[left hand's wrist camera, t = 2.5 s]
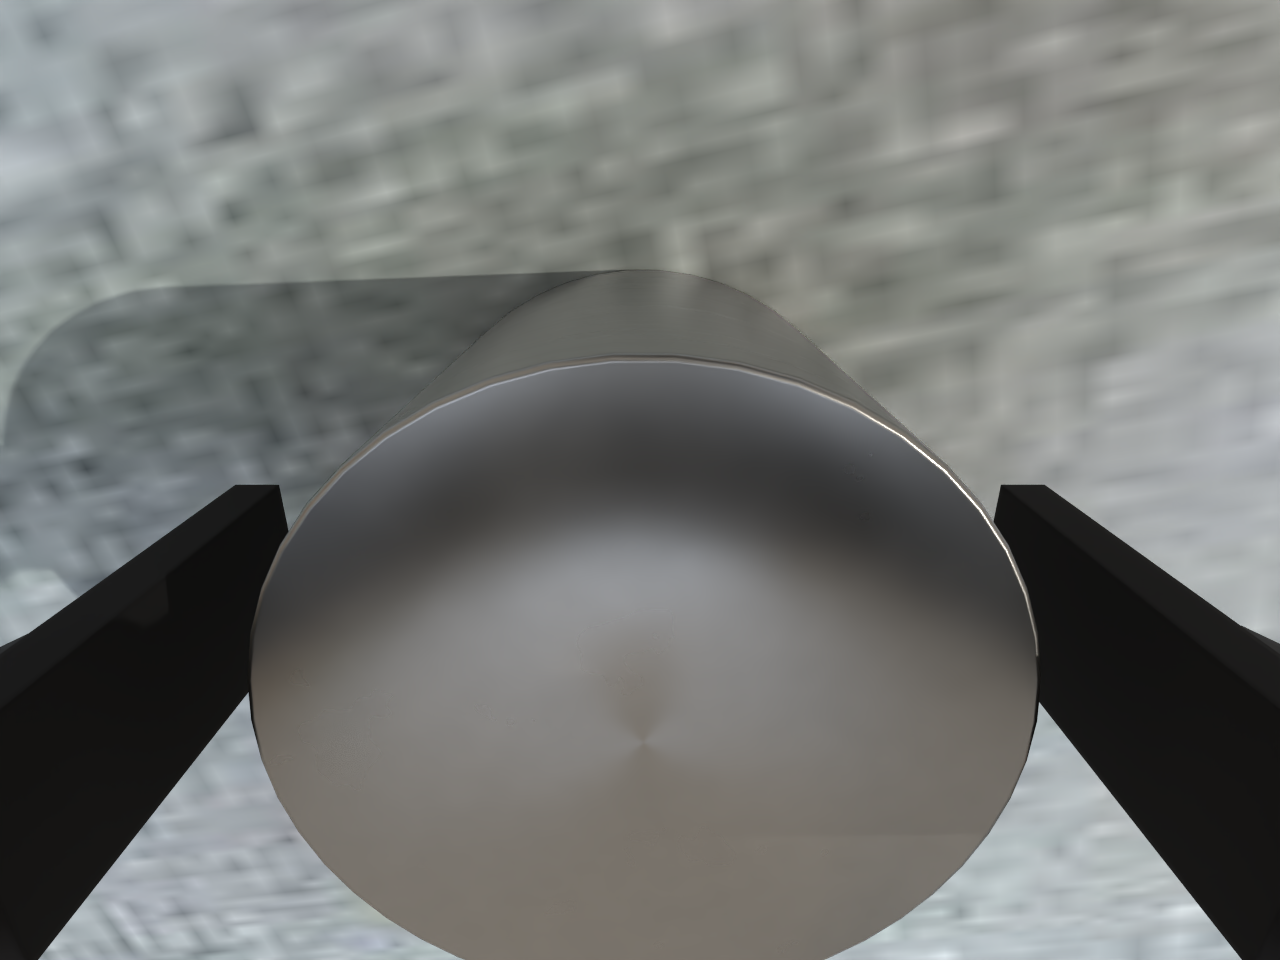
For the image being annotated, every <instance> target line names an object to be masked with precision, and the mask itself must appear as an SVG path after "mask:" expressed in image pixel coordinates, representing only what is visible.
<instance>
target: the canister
mask: <svg viewBox="0 0 1280 960" xmlns="http://www.w3.org/2000/svg"><path fill="white" fill-rule="evenodd" d="M247 679H248V690H249V701H250V711H251V721H252V724H253V728H254V732H255V736H256V740H257V744H258V748H259V752H260V755H261V759H262V762H263V764H264V767H265V769H266V771H267V774H268V776H269V778H270V781H271V783H272V785H273V788H274V790H275V792H276V795H277V797H278V799H279V800H280V802H281V804H282V805H283V807H284V809H285V810H286V812H287V814H288V815H289V817H290V819H291V820H292V822H293V823H294V825H295V827H296V828H297V830H298V832H299V833H300V834H301V836H302V837H303V838H304V839H305V841H306V842H307V843H308V844H309V846H310V847H311V848H312V849H313V851H314V852H315V853H316V854H317V856H318V857H319V858H320V859H321V860H322V862H323V863H324V864H325V865H326V866H327V867H328V868H329V869H330V870H331V871H332V872H333V873H334V874H335V875H336V876H337V877H338V878H339V879H340V880H341V881H342V882H343V883H344V884H345V885H346V886H347V887H348V888H349V889H351V890H352V891H353V892H354V893H355V894H356V895H357V896H359V897H360V898H361V899H363V900H364V901H365V902H367V903H368V904H369V905H370V906H372V907H373V908H374V909H376V910H377V911H378V912H379V913H381V914H382V915H383V916H385V917H386V918H387V919H389V920H391V921H392V922H394V923H396V924H397V925H399V926H400V927H402V928H404V929H405V930H407V931H409V932H410V933H412V934H414V935H415V936H417V937H418V938H420V939H422V940H424V941H426V942H428V943H430V944H432V945H434V946H436V947H438V948H440V949H442V950H444V951H446V952H449V953H451V954H453V955H455V956H457V957H459V958H462V959H464V960H825V959H827V958H830V957H832V956H834V955H836V954H838V953H840V952H842V951H844V950H846V949H848V948H851V947H853V946H855V945H857V944H859V943H861V942H863V941H865V940H867V939H868V938H870V937H872V936H873V935H875V934H877V933H878V932H880V931H882V930H883V929H885V928H887V927H888V926H890V925H892V924H893V923H895V922H896V921H898V920H900V919H901V918H903V917H904V916H905V915H906V914H908V913H909V912H910V911H912V910H913V909H914V908H916V907H917V906H918V905H920V904H921V903H922V902H923V901H925V900H926V899H927V898H929V897H930V896H931V895H933V894H934V893H935V892H936V891H937V890H938V889H939V888H940V887H941V886H942V885H943V884H944V883H945V882H946V881H947V880H948V879H949V878H950V877H952V876H953V875H954V874H955V873H956V872H957V871H958V870H959V869H960V868H961V867H962V866H963V865H964V864H965V862H966V861H967V860H968V859H969V857H970V856H971V855H972V854H973V853H974V851H975V850H976V849H977V848H978V846H979V845H980V844H981V843H982V841H983V840H984V839H985V838H986V836H987V835H988V834H989V833H990V831H991V829H992V828H993V826H994V824H995V823H996V821H997V819H998V818H999V816H1000V815H1001V813H1002V811H1003V810H1004V808H1005V806H1006V805H1007V803H1008V802H1009V800H1010V798H1011V796H1012V793H1013V791H1014V789H1015V786H1016V784H1017V782H1018V780H1019V777H1020V775H1021V773H1022V770H1023V768H1024V766H1025V763H1026V761H1027V757H1028V753H1029V750H1030V746H1031V742H1032V738H1033V734H1034V731H1035V727H1036V723H1037V716H1038V706H1039V695H1040V685H1041V670H1040V656H1039V641H1038V631H1037V627H1036V623H1035V619H1034V615H1033V611H1032V607H1031V603H1030V599H1029V594H1028V590H1027V587H1026V585H1025V582H1024V580H1023V578H1022V576H1021V573H1020V571H1019V569H1018V566H1017V564H1016V562H1015V559H1014V557H1013V555H1012V552H1011V550H1010V548H1009V545H1008V544H1007V542H1006V541H1005V539H1004V538H1003V536H1002V534H1001V533H1000V531H999V530H998V528H997V527H996V525H995V524H994V522H993V520H992V519H991V517H990V516H989V514H988V513H987V511H986V510H985V508H984V506H983V505H982V503H981V502H980V501H979V500H978V499H977V498H976V497H975V496H974V495H973V493H972V492H971V491H970V490H969V489H968V488H967V487H966V486H965V485H964V483H963V482H962V481H961V480H960V479H959V478H958V477H957V476H956V474H955V473H954V472H953V471H952V470H951V469H950V468H949V467H948V466H947V465H946V464H945V463H944V462H943V461H942V460H941V459H940V458H939V457H938V456H937V455H935V454H934V453H933V452H932V451H931V450H930V449H929V448H928V447H927V446H925V445H924V444H923V443H922V442H921V441H920V440H919V439H918V438H917V437H916V436H914V435H913V434H912V433H911V432H910V431H909V430H908V429H907V428H906V427H904V426H903V425H902V424H901V423H900V422H899V421H898V420H897V419H896V418H895V417H893V416H892V415H891V414H890V413H889V412H888V411H887V410H886V409H885V408H884V407H882V406H881V405H880V404H879V403H878V402H877V401H876V400H875V399H874V398H872V397H871V396H870V395H869V394H868V393H867V392H866V391H865V390H864V389H863V388H861V387H860V386H859V385H858V384H857V383H856V382H855V381H854V380H853V379H851V378H850V377H849V376H848V375H847V374H846V373H845V372H844V371H843V370H842V369H840V368H839V367H838V366H837V365H836V364H835V363H834V362H833V361H832V360H830V359H829V358H828V357H827V356H826V355H825V354H824V353H823V352H822V351H821V350H819V349H818V348H817V347H816V346H815V345H814V344H813V343H812V342H811V341H810V340H808V339H807V338H806V337H805V336H804V335H803V334H802V333H801V332H800V331H798V330H797V329H796V328H795V327H794V326H792V325H791V324H790V323H789V322H788V321H786V320H785V319H784V318H783V317H781V316H780V315H779V314H778V313H777V312H775V311H774V310H772V309H771V308H769V307H767V306H766V305H764V304H762V303H761V302H759V301H758V300H756V299H754V298H753V297H751V296H749V295H747V294H745V293H743V292H740V291H738V290H736V289H733V288H731V287H729V286H726V285H724V284H722V283H719V282H715V281H712V280H708V279H705V278H701V277H697V276H694V275H690V274H683V273H676V272H668V271H661V270H625V271H618V272H611V273H604V274H596V275H592V276H589V277H585V278H582V279H578V280H575V281H571V282H567V283H565V284H562V285H560V286H558V287H555V288H553V289H551V290H548V291H546V292H544V293H542V294H539V295H537V296H535V297H534V298H532V299H530V300H529V301H527V302H526V303H524V304H522V305H521V306H519V307H517V308H516V309H514V310H512V311H511V312H510V313H509V314H507V315H506V316H505V317H504V318H502V319H501V320H500V321H499V322H498V323H496V324H495V325H494V326H493V327H492V328H490V329H489V330H488V331H487V332H486V333H485V334H484V335H482V336H481V337H480V338H479V339H478V340H477V341H476V342H475V343H474V344H473V345H472V346H470V347H469V348H468V349H467V350H466V351H465V352H464V353H463V354H462V355H461V356H460V357H458V358H457V359H456V360H455V361H454V362H453V363H452V364H451V365H450V366H449V367H448V368H447V369H445V370H444V371H443V372H442V373H441V374H440V375H439V376H438V377H437V378H436V379H435V380H433V381H432V382H431V383H430V384H429V385H428V386H427V387H426V388H425V389H424V390H423V391H421V392H420V393H419V394H418V395H417V396H416V397H415V398H414V399H413V400H412V401H411V402H409V403H408V404H407V405H406V406H405V407H404V408H403V409H402V410H401V411H400V412H399V413H397V414H396V415H395V416H394V417H393V418H392V419H391V420H390V421H389V422H388V423H387V424H385V425H384V426H383V427H382V428H381V429H380V430H379V431H378V432H377V433H376V434H375V435H373V436H372V437H371V438H370V439H369V440H368V441H367V442H366V443H365V444H364V445H363V446H361V447H360V448H359V449H358V450H357V451H356V452H355V453H354V454H353V455H352V456H351V457H349V458H348V459H347V460H346V461H345V462H344V463H343V464H342V465H341V466H340V467H339V468H338V469H337V470H336V472H335V473H334V474H333V475H332V476H331V477H330V478H329V479H328V480H327V482H326V483H325V484H324V485H323V486H322V487H321V488H320V489H319V490H318V492H317V493H316V494H315V495H314V496H313V497H312V498H311V499H310V500H309V502H308V503H307V504H306V506H305V507H304V509H303V510H302V512H301V513H300V515H299V516H298V518H297V519H296V521H295V523H294V524H293V526H292V527H291V529H290V530H289V532H288V533H287V535H286V537H285V538H284V540H283V541H282V543H281V544H280V546H279V549H278V551H277V553H276V556H275V558H274V560H273V563H272V565H271V567H270V569H269V572H268V574H267V576H266V579H265V581H264V583H263V586H262V588H261V592H260V596H259V600H258V604H257V609H256V613H255V617H254V621H253V625H252V629H251V635H250V649H249V662H248V676H247Z"/></svg>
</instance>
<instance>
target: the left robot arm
mask: <svg viewBox="0 0 1280 960" xmlns="http://www.w3.org/2000/svg"><path fill="white" fill-rule="evenodd" d="M994 524H995V525H996V527H997V528H998V530H999V531H1000V533H1001V534H1002V536H1003V538H1004V539H1005V541H1006V542H1007V544H1008V545H1009V548H1010V550H1011V552H1012V555H1013V557H1014V559H1015V562H1016V564H1017V566H1018V569H1019V571H1020V573H1021V576H1022V578H1023V580H1024V582H1025V585H1026V587H1027V590H1028V594H1029V599H1030V603H1031V607H1032V611H1033V615H1034V619H1035V623H1036V627H1037V631H1038V641H1039V656H1040V670H1041V685H1040V695H1039V702H1040V703H1041V705H1042V706H1043V707H1044V709H1045V710H1046V711H1047V712H1048V714H1049V715H1050V716H1051V717H1052V719H1053V720H1054V721H1055V723H1056V724H1057V725H1058V726H1059V728H1060V729H1061V730H1062V731H1063V733H1064V734H1065V735H1066V737H1067V738H1068V739H1069V740H1070V742H1071V743H1072V744H1073V745H1074V747H1075V748H1076V749H1077V751H1078V752H1079V753H1080V754H1081V756H1082V757H1083V758H1084V759H1085V761H1086V762H1087V763H1088V764H1089V766H1090V767H1091V768H1092V770H1093V771H1094V772H1095V773H1096V775H1097V776H1098V777H1099V778H1100V780H1101V781H1102V782H1103V784H1104V785H1105V786H1106V787H1107V789H1108V790H1109V791H1110V792H1111V794H1112V795H1113V796H1114V798H1115V799H1116V800H1117V801H1118V803H1119V804H1120V805H1121V806H1122V808H1123V809H1124V810H1125V812H1126V813H1127V814H1128V815H1129V817H1130V818H1131V819H1132V820H1133V822H1134V823H1135V824H1136V826H1137V827H1138V828H1139V829H1140V831H1141V832H1142V833H1143V834H1144V836H1145V837H1146V838H1147V840H1148V841H1149V842H1150V843H1151V845H1152V846H1153V847H1154V848H1155V850H1156V851H1157V852H1158V854H1159V855H1160V856H1161V857H1162V859H1163V860H1164V861H1165V862H1166V864H1167V865H1168V866H1169V868H1170V869H1171V870H1172V871H1173V873H1174V874H1175V875H1176V876H1177V878H1178V879H1179V880H1180V881H1181V883H1182V884H1183V885H1184V887H1185V888H1186V889H1187V890H1188V892H1189V893H1190V894H1191V895H1192V897H1193V898H1194V899H1195V901H1196V902H1197V903H1198V904H1199V906H1200V907H1201V908H1202V909H1203V911H1204V912H1205V913H1206V915H1207V916H1208V917H1209V918H1210V920H1211V921H1212V922H1213V923H1214V925H1215V926H1216V927H1217V929H1218V930H1219V931H1220V932H1221V934H1222V935H1223V936H1224V937H1225V939H1226V940H1227V941H1228V943H1229V944H1230V945H1231V946H1232V948H1233V949H1234V950H1235V951H1236V953H1237V954H1238V955H1239V957H1240V958H1241V959H1242V960H1280V644H1279V643H1277V642H1275V641H1273V640H1271V639H1268V638H1266V637H1264V636H1262V635H1260V634H1258V633H1256V632H1254V631H1252V630H1249V629H1247V628H1245V627H1243V626H1240V625H1239V624H1237V623H1236V622H1235V621H1233V620H1232V619H1230V618H1229V617H1228V616H1226V615H1225V614H1223V613H1222V612H1221V611H1219V610H1218V609H1217V608H1215V607H1214V606H1212V605H1211V604H1210V603H1208V602H1207V601H1205V600H1204V599H1203V598H1201V597H1200V596H1198V595H1197V594H1196V593H1194V592H1193V591H1191V590H1190V589H1189V588H1187V587H1186V586H1185V585H1183V584H1182V583H1180V582H1179V581H1178V580H1176V579H1175V578H1173V577H1172V576H1171V575H1169V574H1168V573H1166V572H1165V571H1164V570H1162V569H1161V568H1159V567H1158V566H1157V565H1155V564H1154V563H1153V562H1151V561H1150V560H1148V559H1147V558H1146V557H1144V556H1143V555H1141V554H1140V553H1139V552H1137V551H1136V550H1134V549H1133V548H1132V547H1130V546H1129V545H1127V544H1126V543H1125V542H1123V541H1122V540H1121V539H1119V538H1118V537H1116V536H1115V535H1114V534H1112V533H1111V532H1109V531H1108V530H1107V529H1105V528H1104V527H1102V526H1101V525H1100V524H1098V523H1097V522H1095V521H1094V520H1093V519H1091V518H1090V517H1089V516H1087V515H1086V514H1084V513H1083V512H1082V511H1080V510H1079V509H1077V508H1076V507H1075V506H1073V505H1072V504H1070V503H1069V502H1068V501H1066V500H1065V499H1063V498H1062V497H1061V496H1059V495H1058V494H1057V493H1055V492H1054V491H1052V490H1051V489H1050V488H1048V487H1047V486H1045V485H1001V488H1000V493H999V498H998V502H997V507H996V512H995V517H994ZM287 533H288V527H287V522H286V517H285V512H284V507H283V502H282V497H281V492H280V488H279V485H235V486H233V487H232V488H230V489H229V490H228V491H226V492H225V493H223V494H222V495H221V496H219V497H218V498H217V499H215V500H214V501H212V502H211V503H210V504H208V505H207V506H205V507H204V508H203V509H201V510H200V511H198V512H197V513H196V514H194V515H193V516H191V517H190V518H189V519H187V520H186V521H185V522H183V523H182V524H180V525H179V526H178V527H176V528H175V529H173V530H172V531H171V532H169V533H168V534H166V535H165V536H164V537H162V538H161V539H159V540H158V541H157V542H155V543H154V544H153V545H151V546H150V547H148V548H147V549H146V550H144V551H143V552H141V553H140V554H139V555H137V556H136V557H134V558H133V559H132V560H130V561H129V562H127V563H126V564H125V565H123V566H122V567H121V568H119V569H118V570H116V571H115V572H114V573H112V574H111V575H109V576H108V577H107V578H105V579H104V580H102V581H101V582H100V583H98V584H97V585H95V586H94V587H93V588H91V589H90V590H89V591H87V592H86V593H84V594H83V595H82V596H80V597H79V598H77V599H76V600H75V601H73V602H72V603H70V604H69V605H68V606H66V607H65V608H63V609H62V610H61V611H59V612H58V613H57V614H55V615H54V616H52V617H51V618H50V619H48V620H47V621H45V622H44V623H43V624H41V625H40V626H38V627H37V628H36V629H34V630H33V631H31V632H30V633H29V634H27V635H24V636H22V637H20V638H18V639H16V640H14V641H12V642H10V643H8V644H6V645H4V646H1V647H0V960H38V959H39V958H40V957H41V955H42V954H43V953H44V951H45V950H46V949H47V948H48V946H49V945H50V944H51V943H52V941H53V940H54V939H55V937H56V936H57V935H58V934H59V932H60V931H61V930H62V929H63V927H64V926H65V925H66V924H67V922H68V921H69V920H70V918H71V917H72V916H73V915H74V913H75V912H76V911H77V910H78V908H79V907H80V906H81V904H82V903H83V902H84V901H85V899H86V898H87V897H88V896H89V894H90V893H91V892H92V890H93V889H94V888H95V887H96V885H97V884H98V883H99V882H100V880H101V879H102V878H103V876H104V875H105V874H106V873H107V871H108V870H109V869H110V868H111V866H112V865H113V864H114V862H115V861H116V860H117V859H118V857H119V856H120V855H121V854H122V852H123V851H124V850H125V848H126V847H127V846H128V845H129V843H130V842H131V841H132V840H133V838H134V837H135V836H136V834H137V833H138V832H139V831H140V829H141V828H142V827H143V826H144V824H145V823H146V822H147V820H148V819H149V818H150V817H151V815H152V814H153V813H154V812H155V810H156V809H157V808H158V806H159V805H160V804H161V803H162V801H163V800H164V799H165V798H166V796H167V795H168V794H169V793H170V791H171V790H172V789H173V787H174V786H175V785H176V784H177V782H178V781H179V780H180V779H181V777H182V776H183V775H184V773H185V772H186V771H187V770H188V768H189V767H190V766H191V765H192V763H193V762H194V761H195V759H196V758H197V757H198V756H199V754H200V753H201V752H202V751H203V749H204V748H205V747H206V745H207V744H208V743H209V742H210V740H211V739H212V738H213V737H214V735H215V734H216V733H217V731H218V730H219V729H220V728H221V726H222V725H223V724H224V723H225V721H226V720H227V719H228V717H229V716H230V715H231V714H232V712H233V711H234V710H235V709H236V707H237V706H238V705H239V703H240V702H241V701H242V700H243V698H244V697H245V696H246V695H247V693H248V692H249V690H248V679H247V676H248V662H249V649H250V635H251V629H252V625H253V621H254V617H255V613H256V609H257V604H258V600H259V596H260V592H261V588H262V586H263V583H264V581H265V579H266V576H267V574H268V572H269V569H270V567H271V565H272V563H273V560H274V558H275V556H276V553H277V551H278V549H279V546H280V544H281V543H282V541H283V540H284V538H285V537H286V535H287Z"/></svg>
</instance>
